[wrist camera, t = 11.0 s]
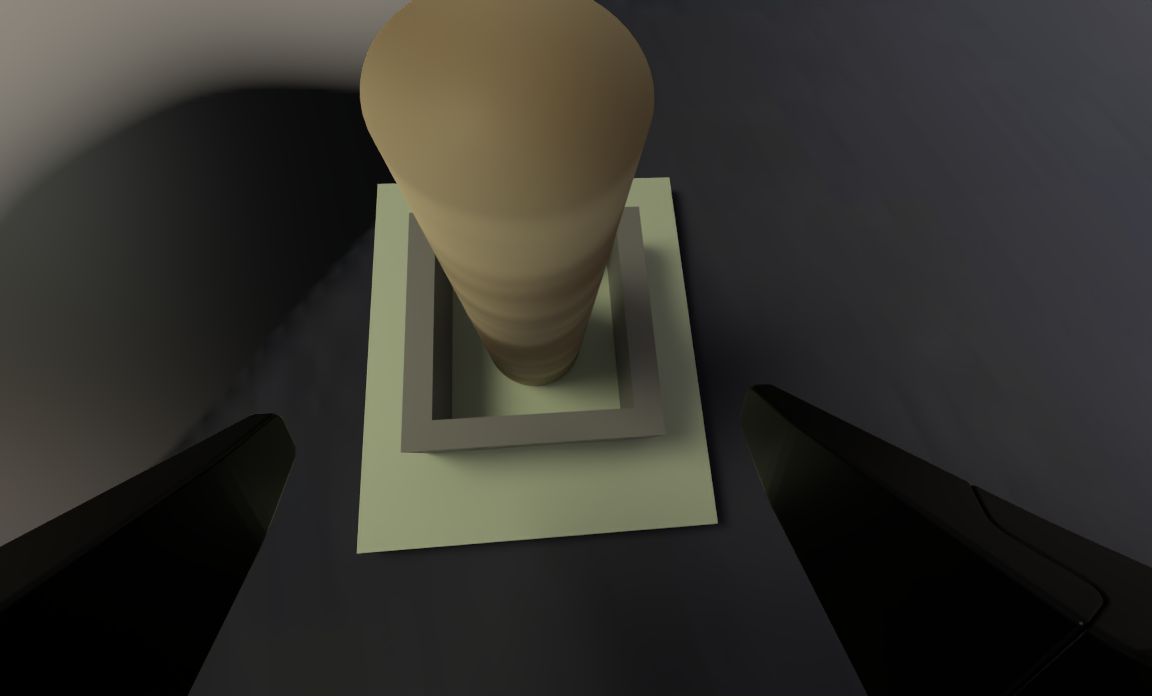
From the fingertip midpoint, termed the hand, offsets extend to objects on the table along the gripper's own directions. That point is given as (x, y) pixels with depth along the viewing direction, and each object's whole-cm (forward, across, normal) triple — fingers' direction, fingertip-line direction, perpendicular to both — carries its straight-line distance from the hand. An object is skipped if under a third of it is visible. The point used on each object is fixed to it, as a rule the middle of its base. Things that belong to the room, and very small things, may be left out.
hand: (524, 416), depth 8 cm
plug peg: (+10, 0, +4) cm, 10 cm away
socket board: (+10, 0, +4) cm, 11 cm away
